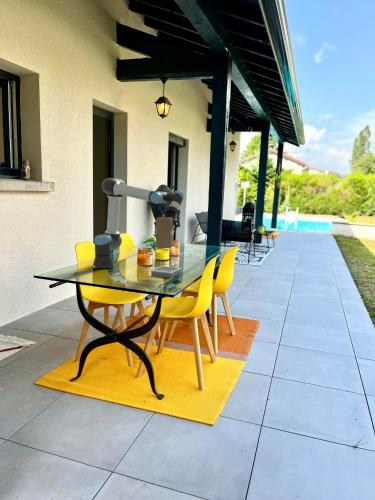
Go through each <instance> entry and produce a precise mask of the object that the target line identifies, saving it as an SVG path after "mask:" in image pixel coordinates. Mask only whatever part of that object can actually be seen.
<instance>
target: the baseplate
mask: <svg viewBox="0 0 375 500" xmlns="http://www.w3.org/2000/svg"><path fill="white" fill-rule="evenodd" d="M180 273H181V274H182V268H181V267H174V266H167V265H161V266H158V267H156V268H153V269H151V270H150V276H152V277H159V278H160V277H161V278H169V279H173V278H174V277H176V276H178V274H179V275H181V274H180Z"/></svg>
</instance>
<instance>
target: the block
mask: <svg viewBox="0 0 375 500" xmlns="http://www.w3.org/2000/svg"><path fill="white" fill-rule="evenodd" d="M155 219H156V220H155V221H156V236H155V238H156V239H155V244H156V245H155V246H156V248H157V249H171V248H173V247H174V235H173V236H172V235H171V230H172V228H173V225H174V222H173V218H172V217H160V216H158V217H157V218H155Z"/></svg>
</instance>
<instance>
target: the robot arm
mask: <svg viewBox="0 0 375 500" xmlns="http://www.w3.org/2000/svg"><path fill="white" fill-rule="evenodd" d="M101 189H102V192H104V193H105V194H106V197H107V199H108V202H107V203H108V206H107V220H106V221H107V222H106V230H105V231H104V234H97V235H95V237H94V243H93V244H94V260H93V262H92V266H93V265H94V266H95V267H99V268H108V269H112V268H114V267H115V263H114V260H113V257H112V251H115V250H117V249H119V248H120V247H121V245H122V243H123V240H122V236H121V232H120V231H119V225H120V214H121V213H120V210H121V199H123V196H124V197H128V198H133V199H136V200H137V199H138V200H143V201H146V202H150V203H152V204H157V205H158V204H168V207H167V209H166V213H161V214H160V216H159V217H172V218H173V228H172V230H171V235H172V236H173V237H174V233H175V232H176V231H177V228H181V220H180V219H181V215H180V214H178V213H179V210H180V207H181V205H182V202H183V200H184V197H185V195H184V192H183V191H181V190H175V191H174V192H167V191H159V190H158V191H154V190H149V189H146V188H142V187H135V186H133V185H128V184H126V183H125V181H124V180H123V179H120V178H117V177H114V178H113V177H107V178H105V179H104V180H103V181H102V182H101ZM175 219H176V220H175ZM153 225H154V226H155V227H154V230H153V234H154V235H156V220H155V221H154V222H153Z"/></svg>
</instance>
